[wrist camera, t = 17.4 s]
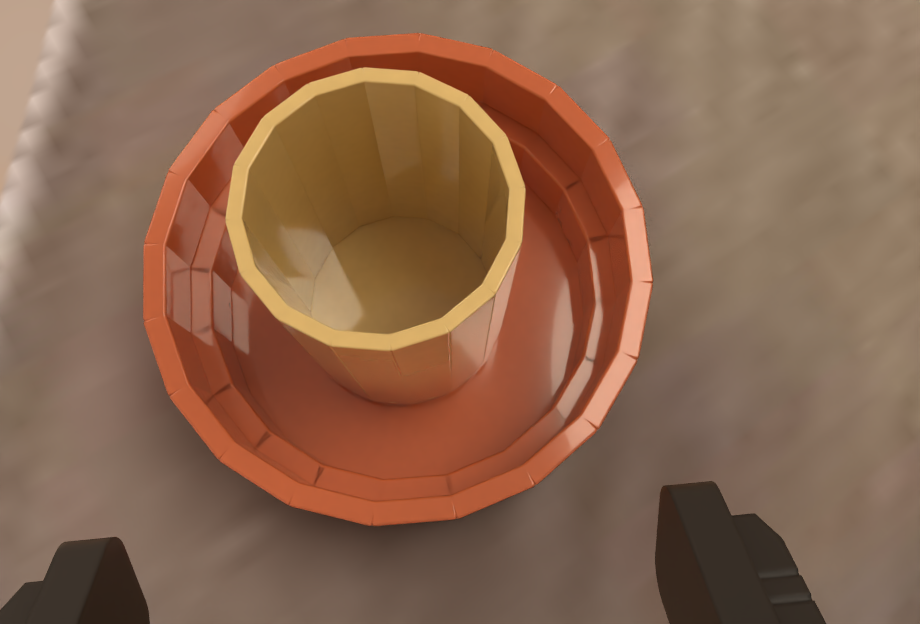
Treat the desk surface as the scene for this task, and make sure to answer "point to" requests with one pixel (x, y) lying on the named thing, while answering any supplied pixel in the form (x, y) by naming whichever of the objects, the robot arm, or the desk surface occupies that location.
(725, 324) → the desk surface
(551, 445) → the bowl
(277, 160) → the cup
